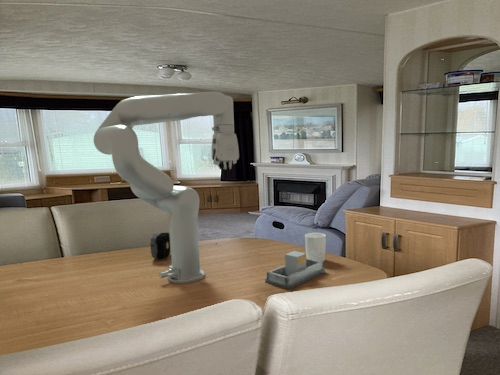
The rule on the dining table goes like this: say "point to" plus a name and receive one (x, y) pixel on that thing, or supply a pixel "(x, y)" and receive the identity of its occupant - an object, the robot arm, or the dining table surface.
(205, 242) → the dining table surface
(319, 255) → the white cup
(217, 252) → the dining table surface
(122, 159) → the robot arm
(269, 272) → the rail
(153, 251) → the cpu cooler
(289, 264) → the block
